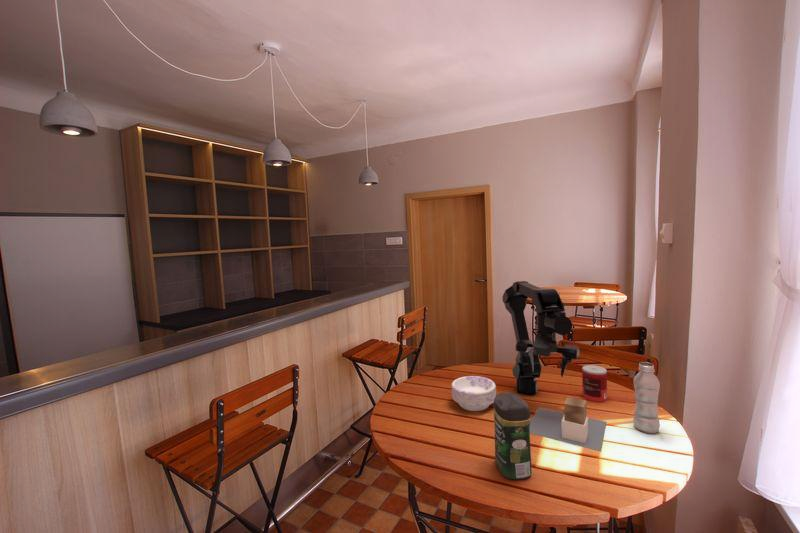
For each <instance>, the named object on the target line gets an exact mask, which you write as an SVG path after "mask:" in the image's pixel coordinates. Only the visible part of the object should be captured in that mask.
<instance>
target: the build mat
mask: <svg viewBox="0 0 800 533" xmlns="http://www.w3.org/2000/svg"><path fill="white" fill-rule="evenodd" d="M563 416H564V412H562V411H559V410H555V409H549V408H543V407H538V408H537V409H536V411H535V413H534V415H533V417H532V418H530V435H531V434H532V435H536V436H539V437H543V438H545V439H546V438H547V439H551V440H553V441H558V442H562V443H564V444H569V445H574V446H578V447H582V448H585V449H589V450H593V451H597V452H601V453H602V448H603V444H604V439H605V438H604V437H605V433H606V430H607V429H606V428H607V422H608V421H605V420H600V419H595V418H590V417H588V435H587V439H586V442H585V443H581V442H577V441H573V440H569V439H565V438H562V419H563Z"/></svg>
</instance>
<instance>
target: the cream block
mask: <svg viewBox="0 0 800 533" xmlns="http://www.w3.org/2000/svg"><path fill="white" fill-rule="evenodd" d="M588 418H589V416H586V420H585V423H584V425H582V424H577V423H573V422H569V421H564V416H563V419H562V438H565V439H569V440H573V441H577V442H581V443H585V442H586V439H587V435H588Z"/></svg>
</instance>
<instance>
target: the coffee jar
mask: <svg viewBox="0 0 800 533" xmlns="http://www.w3.org/2000/svg"><path fill="white" fill-rule="evenodd" d="M530 409H531V408H530V405H528V403H527V402H526V400H524V399H523V398H522V397H521V396H519V395H517V394H515V393H514V392H501V393H498V394H496V397H495V398H494V402H493V418H494V419H493V421H494V460H495V464H496V466H497V468H498V469H499V471H500V473H501V474H502V475H503V476H504V477H505V478H508V479H512V480H515V481H516V480H523V479H527V478H529V477H531V475H532V474H533V472H532V454H531V438H530V437H531V433H530V421H531V410H530Z"/></svg>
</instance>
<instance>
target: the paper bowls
mask: <svg viewBox="0 0 800 533" xmlns="http://www.w3.org/2000/svg"><path fill="white" fill-rule="evenodd" d="M451 396H452V400H453V401H454V402H456V403H457V404H458V405H459V406H460V407H461V408H462V409H464V410H466V411H471V412H481V411H484V410H486V409H488V408H489V407H490V405H492V404H494V398H495V397H496V396H497V386H496V383H495V382H494V381H493V380H492V379H489V378H487V377H484V376H477V375H469V376H468V375H466V376H461V377H458V378H456V379H454V380H453V381H452V383H451Z"/></svg>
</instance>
